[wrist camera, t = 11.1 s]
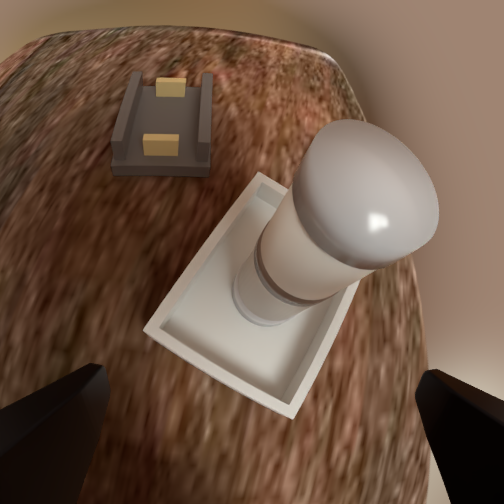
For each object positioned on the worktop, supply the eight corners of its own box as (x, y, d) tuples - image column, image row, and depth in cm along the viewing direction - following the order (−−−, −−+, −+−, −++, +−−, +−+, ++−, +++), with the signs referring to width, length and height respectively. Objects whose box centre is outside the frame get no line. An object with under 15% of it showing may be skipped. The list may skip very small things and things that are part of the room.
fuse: (262, 341, 17) (396, 284, 6) (217, 284, 18) (277, 147, 7) (312, 298, 19) (454, 203, 8) (269, 246, 20) (367, 106, 9)
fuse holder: (208, 177, 22) (213, 148, 19) (113, 175, 20) (105, 147, 17) (210, 98, 25) (215, 70, 22) (133, 96, 23) (131, 68, 20)
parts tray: (279, 413, 16) (293, 419, 14) (148, 335, 17) (142, 330, 14) (355, 259, 22) (373, 246, 19) (250, 191, 22) (258, 171, 20)
